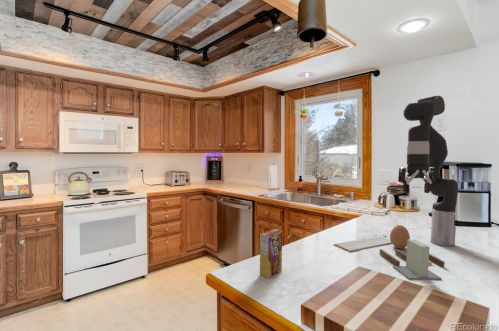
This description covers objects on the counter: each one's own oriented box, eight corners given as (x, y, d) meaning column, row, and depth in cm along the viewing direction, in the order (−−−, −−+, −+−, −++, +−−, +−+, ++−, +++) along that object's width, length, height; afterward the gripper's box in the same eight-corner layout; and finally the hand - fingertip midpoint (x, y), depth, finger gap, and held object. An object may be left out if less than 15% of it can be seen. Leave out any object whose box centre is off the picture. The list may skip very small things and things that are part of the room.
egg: (385, 246, 129) (386, 223, 129) (398, 244, 132) (399, 222, 132) (400, 252, 121) (401, 228, 121) (413, 250, 124) (414, 226, 124)
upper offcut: (419, 257, 116) (419, 254, 116) (431, 264, 108) (431, 262, 108) (405, 256, 116) (405, 253, 116) (416, 264, 108) (416, 261, 108)
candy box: (272, 267, 102) (273, 228, 102) (282, 270, 100) (283, 230, 99) (258, 274, 96) (259, 233, 95) (268, 278, 93) (269, 236, 92)
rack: (421, 255, 118) (422, 249, 118) (444, 267, 105) (444, 261, 105) (379, 254, 118) (379, 249, 118) (396, 267, 105) (396, 261, 105)
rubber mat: (422, 268, 105) (422, 266, 105) (441, 280, 95) (441, 278, 95) (392, 267, 104) (392, 265, 104) (408, 280, 94) (408, 277, 94)
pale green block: (413, 267, 103) (414, 239, 103) (427, 276, 96) (429, 246, 95) (405, 267, 103) (407, 239, 103) (419, 276, 95) (421, 246, 95)
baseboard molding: (331, 245, 131) (349, 253, 120) (331, 239, 131) (350, 247, 120) (374, 237, 145) (394, 244, 134) (374, 232, 145) (394, 238, 134)
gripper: (428, 152, 110) (426, 191, 111) (395, 152, 109) (394, 191, 110) (442, 152, 102) (440, 194, 103) (406, 153, 101) (405, 195, 102)
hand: (416, 193), depth 106 cm, fingers open, 8 cm apart
